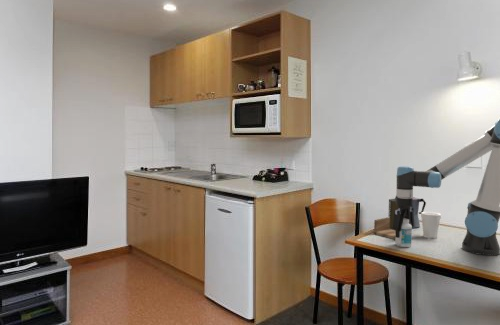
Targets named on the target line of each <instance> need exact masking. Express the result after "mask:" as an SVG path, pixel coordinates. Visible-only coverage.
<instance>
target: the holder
mask: <svg viewBox="0 0 500 325" xmlns="http://www.w3.org/2000/svg"><path fill="white" fill-rule="evenodd" d="M373 224H374V226H373V227H374V232H373V234H374V235H376V236H380V237H383V238H388V239H391V240H395V235H396V231H395V230H392V229H390V218H389V216H387V217H383V218H379V219H374V223H373Z"/></svg>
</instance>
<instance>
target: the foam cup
mask: <svg viewBox="0 0 500 325" xmlns="http://www.w3.org/2000/svg"><path fill="white" fill-rule="evenodd" d="M420 215H421V216H420V217H421V224H422V225H421V226H422V231H423V232H422V235H423V237H424V238H427V239H437V237H438V232H439V227H440V221H441V219H442V217H441V216H442V214H441V213H439V212H435V211H423V212H422V213H421V214H420Z"/></svg>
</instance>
